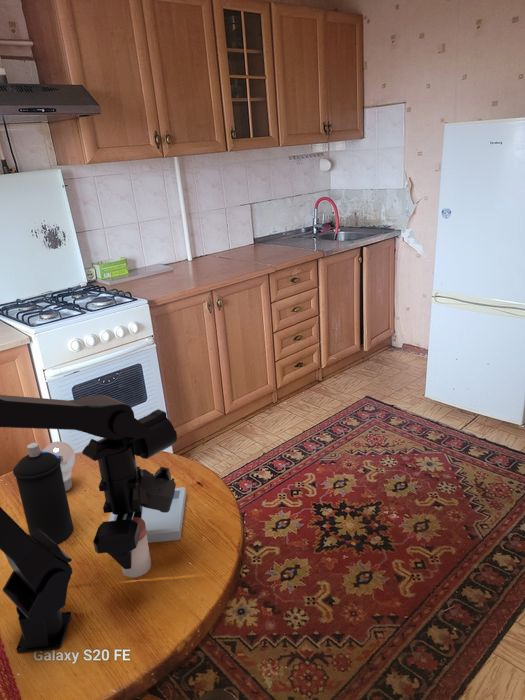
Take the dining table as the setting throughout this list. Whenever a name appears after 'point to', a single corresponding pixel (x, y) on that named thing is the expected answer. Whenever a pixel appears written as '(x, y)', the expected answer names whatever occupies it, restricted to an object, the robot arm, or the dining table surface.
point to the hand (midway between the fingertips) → (132, 549)
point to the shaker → (139, 553)
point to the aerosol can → (44, 494)
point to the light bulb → (63, 460)
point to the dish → (164, 519)
